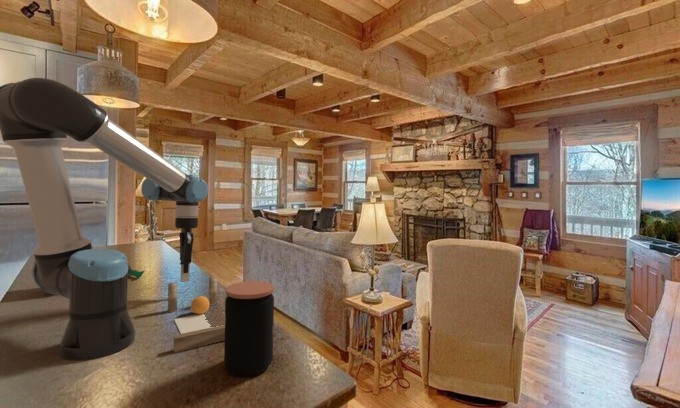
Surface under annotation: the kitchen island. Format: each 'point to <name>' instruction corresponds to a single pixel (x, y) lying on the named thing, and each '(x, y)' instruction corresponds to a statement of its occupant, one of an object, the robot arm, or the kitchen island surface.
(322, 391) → the kitchen island surface
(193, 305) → the ball
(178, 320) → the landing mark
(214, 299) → the post right
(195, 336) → the stopper wall
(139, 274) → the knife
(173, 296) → the post left
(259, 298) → the coffee jar
